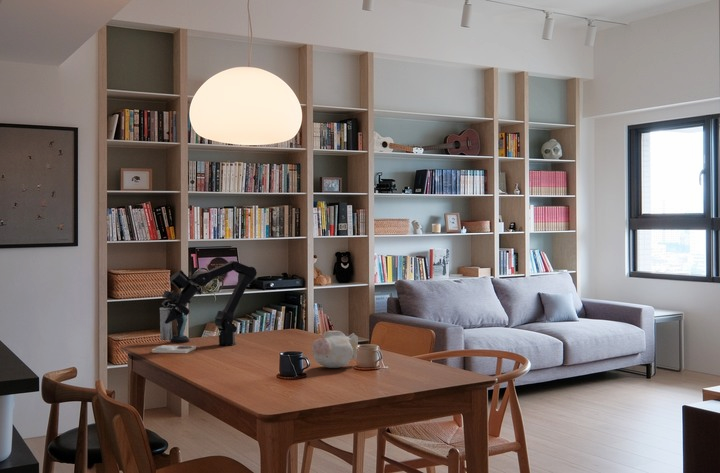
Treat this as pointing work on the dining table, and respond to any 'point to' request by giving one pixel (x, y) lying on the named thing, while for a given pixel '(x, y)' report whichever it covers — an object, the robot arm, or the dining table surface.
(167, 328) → the metal tumbler
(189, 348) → the dial scale
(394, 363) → the dining table surface
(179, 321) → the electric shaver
